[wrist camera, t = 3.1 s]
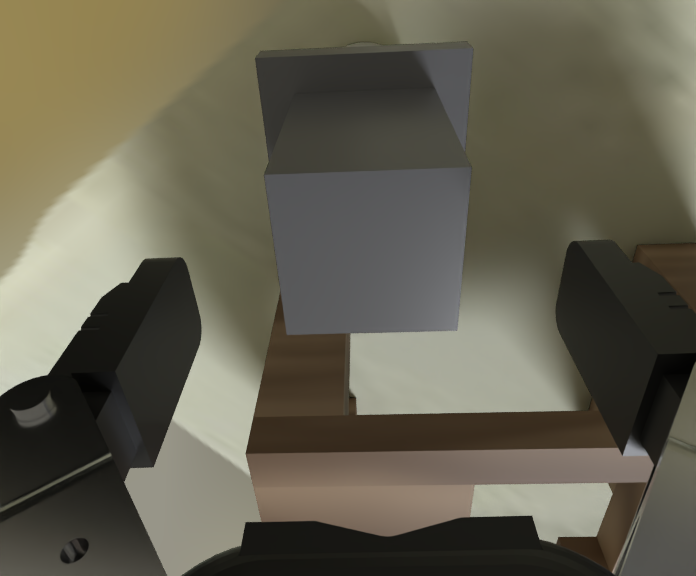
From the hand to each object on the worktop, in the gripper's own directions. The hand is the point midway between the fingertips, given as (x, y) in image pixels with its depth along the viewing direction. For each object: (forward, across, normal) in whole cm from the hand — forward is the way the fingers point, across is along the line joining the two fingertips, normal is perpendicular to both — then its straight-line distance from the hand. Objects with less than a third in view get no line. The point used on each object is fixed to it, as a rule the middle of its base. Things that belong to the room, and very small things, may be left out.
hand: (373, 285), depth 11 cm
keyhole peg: (+13, 0, -1) cm, 13 cm away
